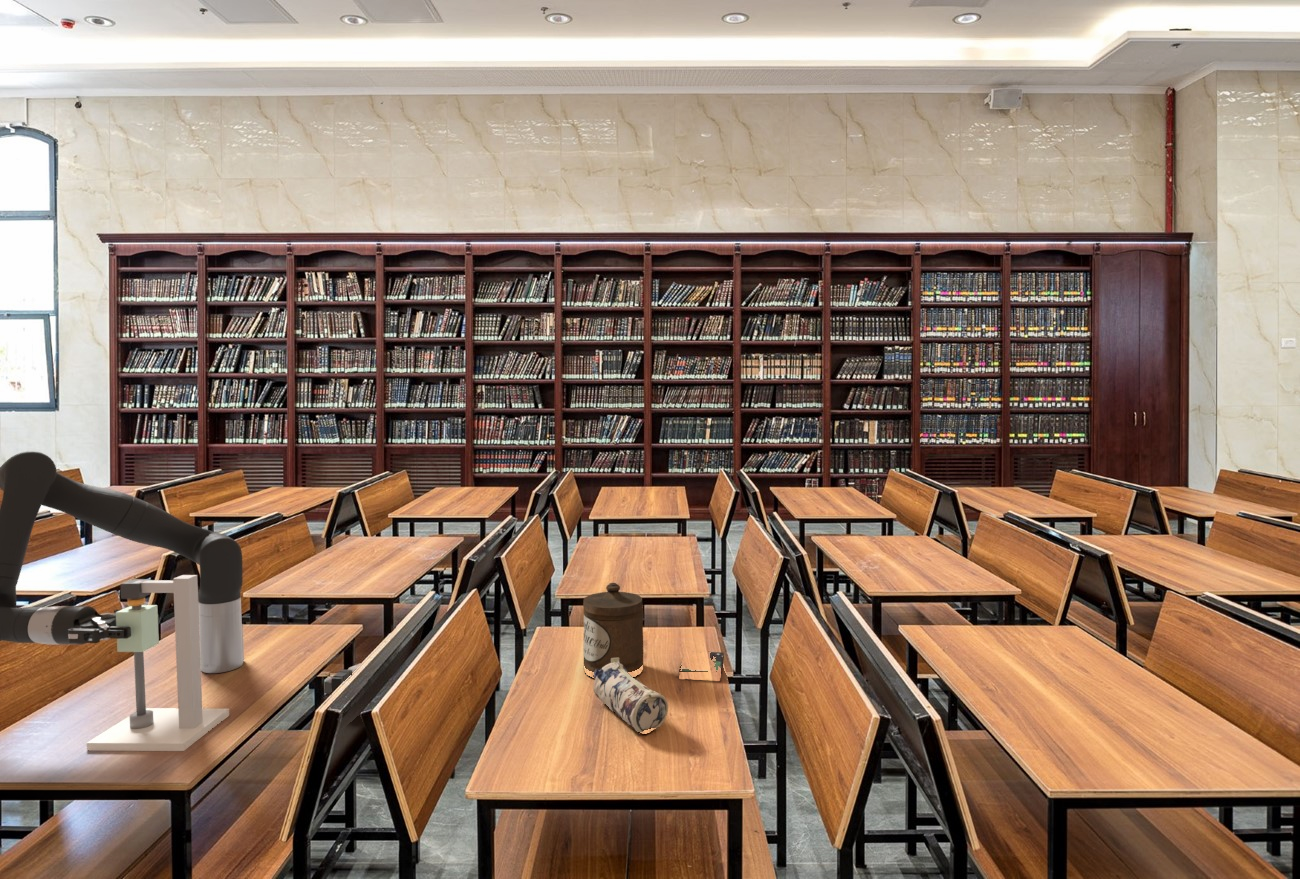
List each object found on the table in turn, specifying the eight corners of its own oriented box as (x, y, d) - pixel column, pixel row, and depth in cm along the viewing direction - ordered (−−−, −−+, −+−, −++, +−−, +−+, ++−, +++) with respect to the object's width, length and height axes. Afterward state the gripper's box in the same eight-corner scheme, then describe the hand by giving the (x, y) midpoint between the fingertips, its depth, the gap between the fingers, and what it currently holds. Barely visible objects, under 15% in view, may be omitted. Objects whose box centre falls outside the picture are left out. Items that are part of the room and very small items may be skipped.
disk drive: (683, 660, 199) (678, 681, 185) (683, 649, 199) (678, 670, 185) (723, 662, 198) (721, 683, 183) (724, 651, 198) (721, 672, 183)
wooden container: (575, 665, 194) (575, 579, 193) (630, 657, 200) (630, 573, 198) (594, 686, 181) (594, 594, 179) (652, 677, 186) (653, 587, 185)
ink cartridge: (342, 713, 165) (341, 677, 164) (332, 713, 165) (331, 677, 164) (354, 703, 170) (352, 668, 169) (344, 703, 170) (342, 668, 169)
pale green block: (134, 643, 157) (132, 605, 156) (158, 643, 157) (157, 605, 156) (117, 651, 152) (115, 612, 151) (142, 652, 152) (140, 612, 151)
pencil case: (590, 702, 171) (590, 660, 171) (624, 695, 175) (624, 653, 175) (635, 743, 152) (635, 695, 151) (672, 734, 156) (672, 687, 155)
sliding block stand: (142, 714, 164) (136, 567, 161) (229, 715, 164) (224, 567, 161) (87, 750, 148) (79, 586, 145) (183, 751, 148) (176, 587, 145)
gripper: (34, 617, 147) (119, 618, 147) (89, 597, 161) (166, 597, 161) (36, 655, 147) (120, 656, 147) (90, 632, 162) (167, 632, 161)
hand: (144, 625), depth 154 cm, fingers open, 8 cm apart
